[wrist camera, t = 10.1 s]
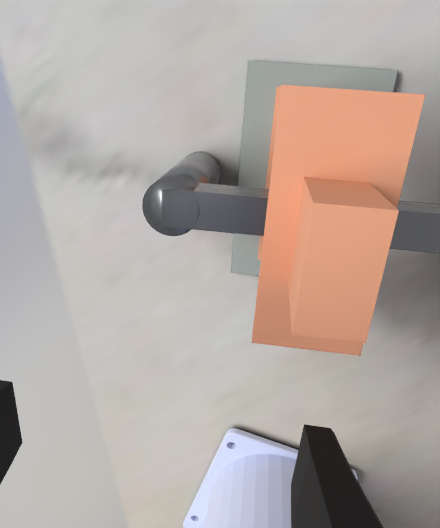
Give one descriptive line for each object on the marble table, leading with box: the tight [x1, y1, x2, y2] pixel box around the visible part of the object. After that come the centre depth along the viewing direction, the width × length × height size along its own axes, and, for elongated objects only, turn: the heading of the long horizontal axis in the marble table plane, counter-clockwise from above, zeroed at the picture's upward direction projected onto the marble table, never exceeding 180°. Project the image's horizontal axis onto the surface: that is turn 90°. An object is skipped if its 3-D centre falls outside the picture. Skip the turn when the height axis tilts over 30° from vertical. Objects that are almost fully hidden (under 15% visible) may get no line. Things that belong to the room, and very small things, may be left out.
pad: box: [231, 61, 398, 276], centre depth 17 cm, size 6×9×1 cm, turn 176°
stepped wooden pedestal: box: [252, 85, 425, 356], centre depth 13 cm, size 3×7×10 cm, turn 177°
